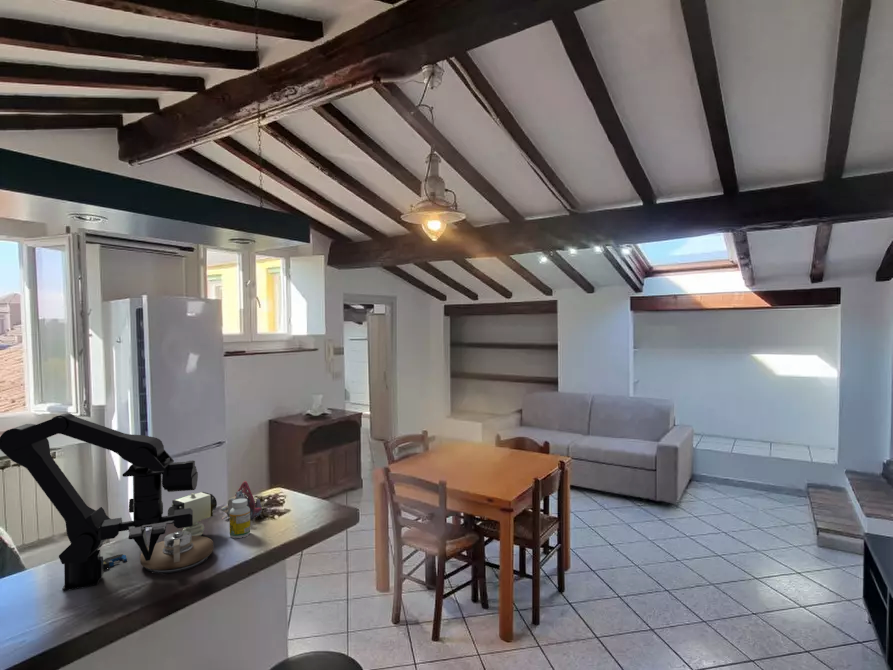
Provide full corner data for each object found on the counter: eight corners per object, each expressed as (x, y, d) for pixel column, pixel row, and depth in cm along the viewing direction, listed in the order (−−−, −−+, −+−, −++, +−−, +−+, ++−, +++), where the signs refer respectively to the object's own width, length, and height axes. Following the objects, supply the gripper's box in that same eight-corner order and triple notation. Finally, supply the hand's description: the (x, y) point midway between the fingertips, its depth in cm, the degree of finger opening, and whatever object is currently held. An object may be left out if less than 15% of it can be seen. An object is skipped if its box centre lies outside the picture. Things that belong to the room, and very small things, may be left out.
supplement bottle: (251, 536, 141) (250, 502, 141) (230, 540, 138) (229, 505, 138) (249, 529, 146) (249, 496, 146) (229, 533, 143) (228, 499, 143)
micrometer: (123, 551, 129) (131, 556, 126) (123, 558, 129) (130, 564, 126) (66, 567, 120) (73, 573, 117) (66, 575, 120) (73, 581, 117)
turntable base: (142, 578, 117) (142, 573, 117) (148, 554, 130) (147, 550, 130) (209, 566, 123) (209, 561, 123) (208, 544, 136) (208, 540, 136)
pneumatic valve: (217, 531, 145) (217, 489, 145) (177, 546, 135) (176, 500, 135) (206, 527, 148) (205, 486, 148) (165, 541, 138) (165, 497, 138)
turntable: (136, 575, 116) (136, 551, 116) (143, 548, 130) (143, 527, 130) (214, 561, 123) (214, 538, 123) (212, 536, 137) (212, 517, 137)
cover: (161, 557, 122) (161, 540, 122) (163, 546, 128) (163, 530, 128) (193, 551, 125) (193, 535, 125) (193, 541, 131) (193, 525, 131)
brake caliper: (275, 506, 158) (253, 481, 152) (249, 537, 151) (225, 512, 145) (255, 499, 165) (233, 475, 159) (229, 528, 158) (205, 504, 152)
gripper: (192, 478, 130) (193, 539, 130) (105, 489, 122) (106, 554, 122) (192, 491, 120) (192, 557, 120) (97, 503, 112) (97, 574, 112)
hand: (148, 559), depth 119 cm, fingers closed
